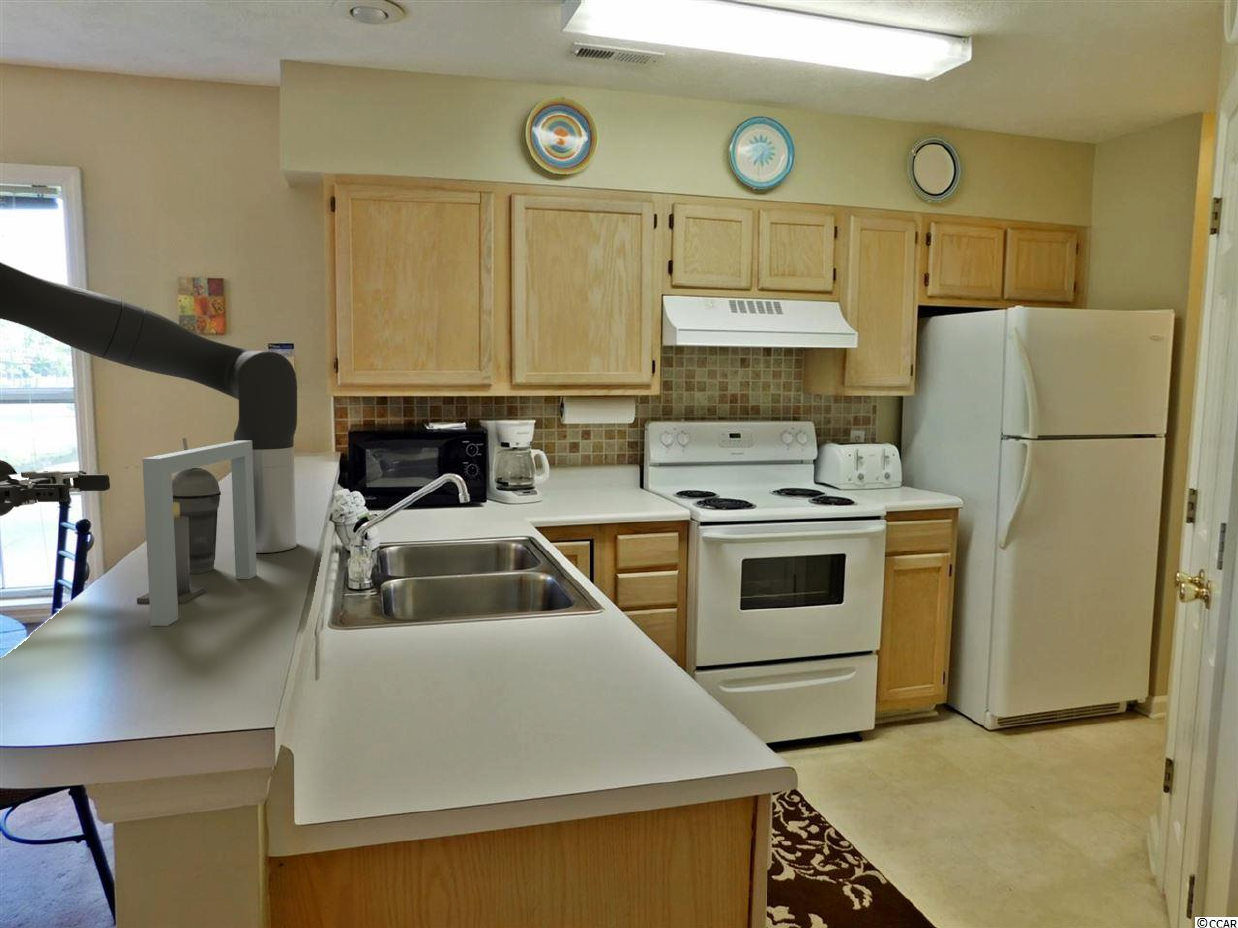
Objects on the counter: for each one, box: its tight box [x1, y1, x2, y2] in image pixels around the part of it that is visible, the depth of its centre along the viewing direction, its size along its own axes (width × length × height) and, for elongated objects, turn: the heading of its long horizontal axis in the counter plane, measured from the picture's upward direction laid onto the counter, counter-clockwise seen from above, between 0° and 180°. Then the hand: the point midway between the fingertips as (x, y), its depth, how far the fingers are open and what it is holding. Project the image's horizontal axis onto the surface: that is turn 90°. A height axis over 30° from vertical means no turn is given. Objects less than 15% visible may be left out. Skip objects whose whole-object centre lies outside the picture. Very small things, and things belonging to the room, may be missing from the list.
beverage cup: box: [172, 437, 222, 575], centre depth 127 cm, size 7×7×20 cm
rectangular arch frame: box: [142, 440, 258, 627], centre depth 113 cm, size 25×2×20 cm, turn 0°
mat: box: [136, 586, 206, 604], centre depth 114 cm, size 6×6×1 cm
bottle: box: [173, 502, 191, 596], centre depth 113 cm, size 4×4×12 cm
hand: (88, 487), depth 112 cm, fingers open, 8 cm apart
